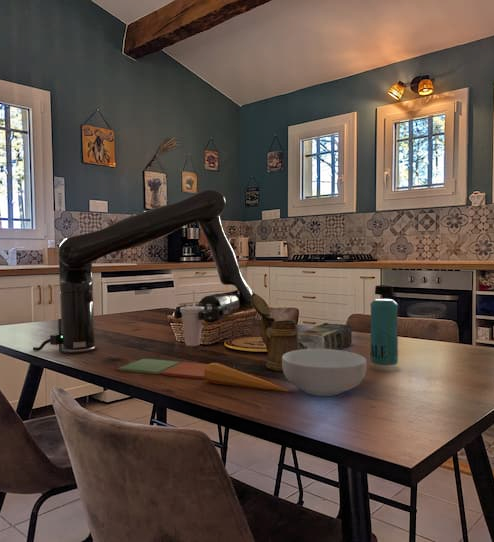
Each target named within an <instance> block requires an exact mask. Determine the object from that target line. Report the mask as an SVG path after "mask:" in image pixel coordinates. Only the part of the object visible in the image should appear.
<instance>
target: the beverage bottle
mask: <svg viewBox="0 0 494 542" xmlns="http://www.w3.org/2000/svg"><path fill="white" fill-rule="evenodd" d="M374 295H378V296H391V295H394V291H393V285H388V284H379V285H375V287H374ZM398 308H399V304H398V303H397V302H396V301H395V300H394V299H392V298H376V299H374V300H372V301H371V302H370V318H369V326H370V335H369V337H370V339H369V341H370V351H369V356H370V357H369V359H370V362H371V363H372V364H374V365H376V366H377V365H378V366H395V365H397V364H398V361H399V335H398Z"/></svg>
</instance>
